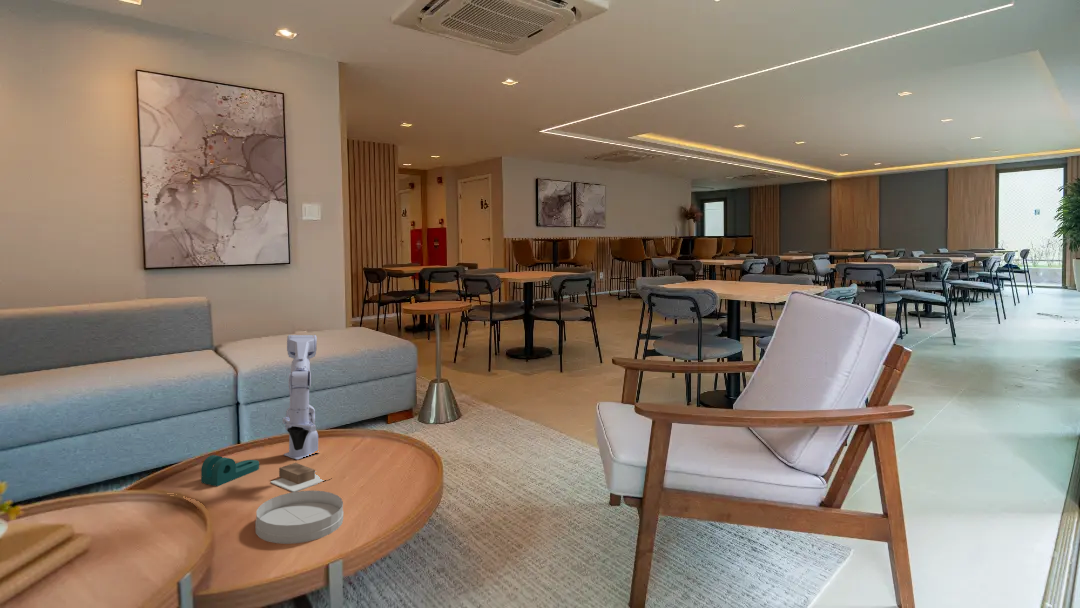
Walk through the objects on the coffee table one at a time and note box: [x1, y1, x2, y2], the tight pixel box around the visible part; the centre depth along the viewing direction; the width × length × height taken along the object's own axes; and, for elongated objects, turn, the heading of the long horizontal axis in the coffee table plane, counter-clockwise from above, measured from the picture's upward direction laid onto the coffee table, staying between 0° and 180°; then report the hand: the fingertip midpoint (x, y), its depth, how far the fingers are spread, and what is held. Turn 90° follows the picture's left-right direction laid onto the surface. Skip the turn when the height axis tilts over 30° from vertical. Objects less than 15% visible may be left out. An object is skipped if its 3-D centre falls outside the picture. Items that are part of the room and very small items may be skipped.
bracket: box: [200, 454, 260, 487], centre depth 183 cm, size 18×7×8 cm, turn 160°
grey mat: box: [270, 474, 324, 493], centre depth 181 cm, size 14×12×1 cm
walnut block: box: [278, 462, 316, 484], centre depth 182 cm, size 6×3×10 cm
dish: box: [255, 490, 345, 545], centre depth 153 cm, size 22×22×5 cm
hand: (298, 449), depth 182 cm, fingers closed
